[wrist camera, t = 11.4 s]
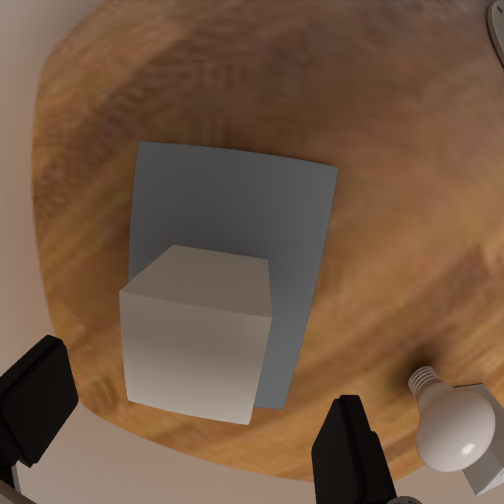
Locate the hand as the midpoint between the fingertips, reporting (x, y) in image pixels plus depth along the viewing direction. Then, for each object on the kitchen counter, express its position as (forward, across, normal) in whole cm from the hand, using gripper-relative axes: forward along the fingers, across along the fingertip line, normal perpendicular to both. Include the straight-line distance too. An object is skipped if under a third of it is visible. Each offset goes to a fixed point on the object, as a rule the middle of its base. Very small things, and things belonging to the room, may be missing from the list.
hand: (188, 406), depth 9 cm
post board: (+12, +1, +1) cm, 12 cm away
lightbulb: (+12, -17, +7) cm, 22 cm away
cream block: (+10, +1, +1) cm, 10 cm away
